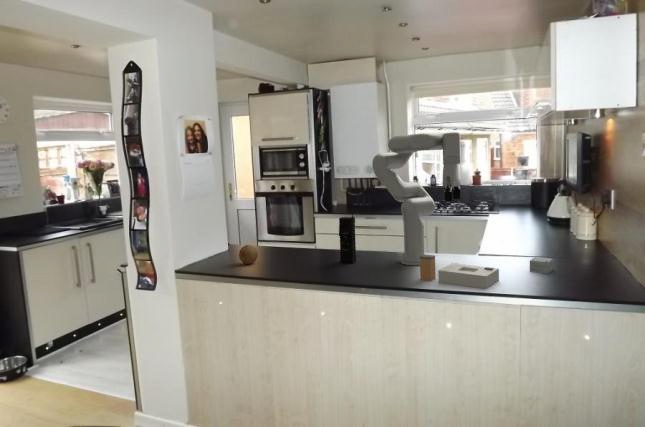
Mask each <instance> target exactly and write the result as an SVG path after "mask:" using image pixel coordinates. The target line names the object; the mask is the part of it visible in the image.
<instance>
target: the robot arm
mask: <svg viewBox="0 0 645 427" xmlns="http://www.w3.org/2000/svg"><path fill="white" fill-rule="evenodd" d="M387 145H388V149H389V151H390V152H382V153H381V152H380V153H378V154H376V155H375V156H374V157H373V158H372V162H371V164H372V170H373V173H374V175H375V177H376V178H377V179H378V180H379V181H380V182H381V183H382V185H384V187H385V188H386V189H387V191H388V192H389V193H390V194H391V196H392V197H393V199H394V200H395V201H397V202H399V203H401V205H400V210H401V216H402V222H403V223H402V224H403V246H404V248H403V249H404V251H403V252H404V253H403V252H398V253H397V258H402V259H401V264H402V265H406V266H420V256H422V255H424V254H425V227H424V223H423V220H422V218H423V217H427V216H431V215H433V214H434V212H435V211H436V204H435V201H434V199H433V197H431V195H429V193H428V192H427V191H426V189H425V188H424V187H423V186H422V185H421V184H420V183H418V182H416V181H404V180H402V178H401V177H400V175H399V174H397V172H395V171H393V170H396V169H401V168H403V167H405V165H406V164H407V162H408V161H409V159H411V156H413V154H414V153H417V152H421V151H423V152H424V151H440V150H442V164H443V167H442V187H443V190H444V191H443V192H444V201H445V202H452V201H453V200H460V199H461V186H462V185H461V180H462V179H461V177H462V176H461V166H460V164H462V162H461V161H462V157H461V156H462V150H461V149H462V148H461V133H460V132H459V131H448V132H425V133H411V134H401V135H400V134H399V135H396V136H393V137H391V138H390V139H389V141H388V144H387ZM421 217H422V218H421Z"/></svg>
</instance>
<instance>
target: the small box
mask: <svg viewBox="0 0 645 427" xmlns="http://www.w3.org/2000/svg"><path fill="white" fill-rule="evenodd" d="M553 270H554V259H553V258H549V257H536V256H535V257H533V258H531V259H530V260H529V272H530V273H541V274H550V272H552V271H553Z"/></svg>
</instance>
